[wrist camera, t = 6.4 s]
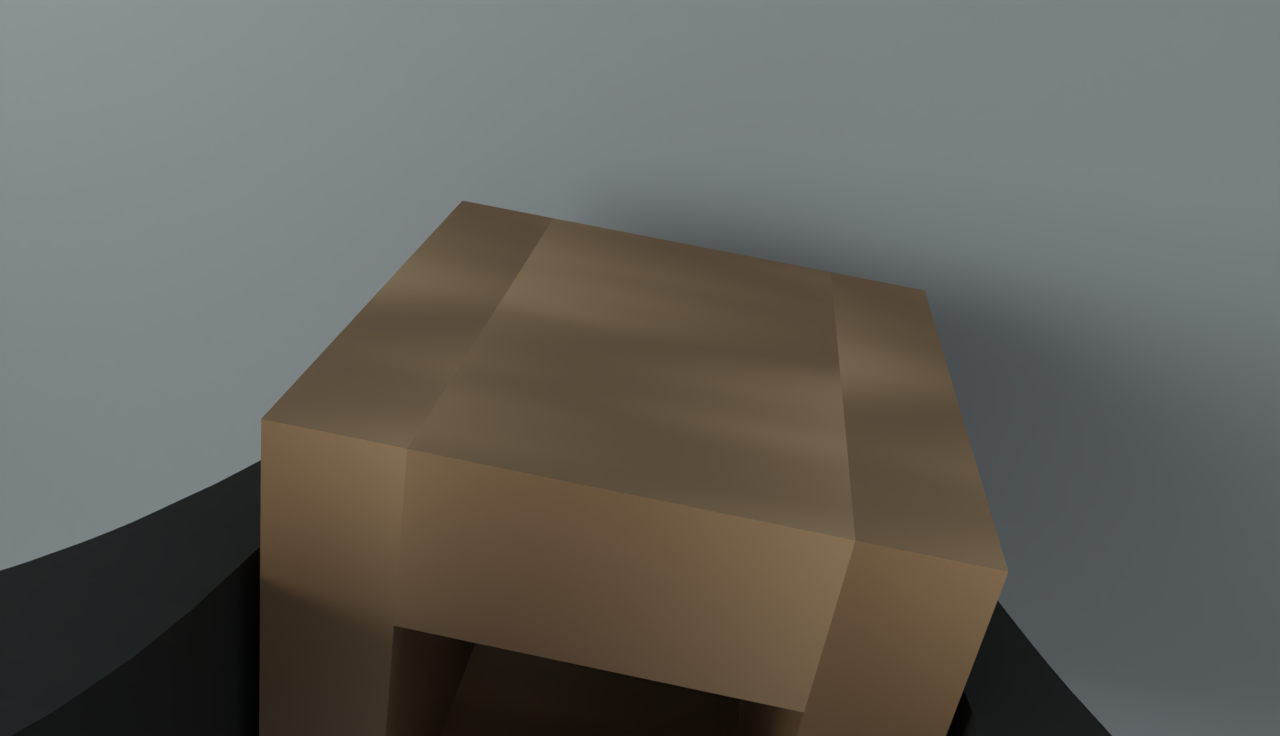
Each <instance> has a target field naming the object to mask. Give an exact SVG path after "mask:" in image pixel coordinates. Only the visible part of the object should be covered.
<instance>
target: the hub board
mask: <svg viewBox="0 0 1280 736" xmlns="http://www.w3.org/2000/svg"><path fill="white" fill-rule="evenodd" d="M462 200H463V201H468V202H473V203H478V204H483V205H488V206H493V207H499V208H504V209H509V210H514V211H519V212H524V213H529V214H534V215H540V216H545V217H550V218H555V219H560V220H565V221H570V222H576V223H581V224H586V225H591V226H596V227H601V228H606V229H612V230H617V231H622V232H627V233H632V234H637V235H642V236H648V237H653V238H658V239H663V240H668V241H673V242H678V243H684V244H689V245H694V246H699V247H704V248H709V249H714V250H720V251H725V252H730V253H735V254H740V255H745V256H750V257H756V258H761V259H766V260H771V261H776V262H781V263H786V264H792V265H797V266H802V267H807V268H812V269H817V270H822V271H828V272H833V273H838V274H843V275H848V276H853V277H858V278H864V279H869V280H874V281H879V282H884V283H889V284H894V285H900V286H905V287H910V288H915V289H920V290H925V293H926V297H927V300H928V303H929V307H930V310H931V313H932V317H933V320H934V323H935V327H936V330H937V334H938V337H939V340H940V344H941V347H942V350H943V354H944V357H945V360H946V364H947V367H948V370H949V374H950V377H951V381H952V384H953V387H954V391H955V394H956V397H957V401H958V404H959V407H960V411H961V414H962V417H963V421H964V424H965V427H966V431H967V434H968V438H969V441H970V444H971V448H972V451H973V454H974V458H975V461H976V464H977V468H978V471H979V474H980V478H981V481H982V484H983V488H984V491H985V495H986V498H987V501H988V505H989V508H990V511H991V515H992V518H993V521H994V525H995V528H996V531H997V535H998V538H999V542H1000V545H1001V548H1002V552H1003V555H1004V558H1005V562H1006V565H1007V568H1008V575H1007V577H1006V580H1005V582H1004V585H1003V588H1002V590H1001V593H1000V595H999V598H998V601H999V603H1000V604H1001V605H1002V606H1003V608H1004V609H1005V610H1006V612H1007V613H1008V614H1009V616H1010V617H1011V618H1012V619H1013V621H1014V622H1015V623H1016V625H1017V626H1018V627H1019V628H1020V630H1021V631H1022V632H1023V633H1024V635H1025V636H1026V637H1027V638H1028V640H1029V641H1030V642H1031V643H1032V645H1033V646H1034V647H1035V648H1036V650H1037V651H1038V652H1039V653H1040V654H1041V656H1042V657H1043V658H1044V659H1045V660H1046V662H1047V663H1048V664H1049V665H1050V666H1051V668H1052V669H1053V670H1054V671H1055V672H1056V674H1057V675H1058V676H1059V677H1060V678H1061V679H1062V681H1063V682H1064V683H1065V684H1066V685H1067V686H1068V688H1069V689H1070V690H1071V691H1072V692H1073V693H1074V694H1075V695H1076V697H1077V698H1078V699H1079V700H1080V701H1081V702H1082V703H1083V704H1084V705H1085V706H1086V708H1087V709H1088V710H1089V711H1090V712H1091V713H1092V714H1093V715H1094V716H1095V717H1096V719H1097V720H1098V721H1099V722H1100V723H1101V724H1102V725H1103V726H1104V727H1105V729H1106V730H1107V731H1108V732H1109V733H1110V734H1111V735H1112V736H1280V0H0V570H3V569H7V568H10V567H13V566H16V565H19V564H22V563H25V562H28V561H31V560H34V559H37V558H40V557H43V556H45V555H48V554H51V553H54V552H57V551H59V550H62V549H65V548H68V547H70V546H73V545H76V544H79V543H82V542H84V541H87V540H89V539H92V538H94V537H97V536H100V535H102V534H105V533H107V532H110V531H112V530H115V529H117V528H119V527H122V526H124V525H127V524H129V523H131V522H134V521H136V520H138V519H140V518H142V517H145V516H147V515H149V514H151V513H153V512H155V511H158V510H160V509H162V508H164V507H166V506H168V505H171V504H173V503H175V502H177V501H179V500H181V499H184V498H186V497H188V496H190V495H192V494H194V493H196V492H199V491H201V490H203V489H205V488H207V487H209V486H212V485H214V484H216V483H218V482H220V481H222V480H224V479H226V478H228V477H229V476H231V475H233V474H235V473H237V472H239V471H241V470H243V469H245V468H247V467H249V466H251V465H252V464H254V463H256V462H258V461H260V460H261V418H262V417H263V416H264V415H265V414H266V413H267V412H268V411H269V410H270V409H271V408H272V407H273V405H274V404H275V403H276V402H277V401H278V400H279V399H280V398H281V397H282V396H283V395H284V394H285V392H286V391H287V390H288V389H289V388H290V387H291V386H292V385H293V384H294V383H295V382H296V381H297V379H298V378H299V377H300V376H301V375H302V374H303V373H304V372H305V371H306V370H307V369H308V367H309V366H310V365H311V364H312V363H313V362H314V361H315V360H316V359H317V358H318V357H319V356H320V354H321V353H322V352H323V351H324V350H325V349H326V348H327V347H328V346H329V345H330V344H331V343H332V341H333V340H334V339H335V338H336V337H337V336H338V335H339V334H340V333H341V332H342V331H343V330H344V328H345V327H346V326H347V325H348V324H349V323H350V322H351V321H352V320H353V319H354V318H355V316H356V315H357V314H358V313H359V312H360V311H361V310H362V309H363V308H364V307H365V306H366V305H367V303H368V302H369V301H370V300H371V299H372V298H373V297H374V296H375V295H376V294H377V293H378V292H379V290H380V289H381V288H382V287H383V286H384V285H385V284H386V283H387V282H388V281H389V280H390V279H391V277H392V276H393V275H394V274H395V273H396V272H397V271H398V270H399V269H400V268H401V267H402V265H403V264H404V263H405V262H406V261H407V260H408V259H409V258H410V257H411V256H412V255H413V254H414V252H415V251H416V250H417V249H418V248H419V247H420V246H421V245H422V244H423V243H424V242H425V241H426V239H427V238H428V237H429V236H430V235H431V234H432V233H433V232H434V231H435V230H436V229H437V228H438V226H439V225H440V224H441V223H442V222H443V221H444V220H445V219H446V218H447V217H448V216H449V214H450V213H451V212H452V211H453V210H454V209H455V208H456V207H457V206H458V205H459V204H460V203H461V201H462Z"/></svg>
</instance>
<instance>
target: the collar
mask: <svg viewBox="0 0 1280 736" xmlns="http://www.w3.org/2000/svg"><path fill="white" fill-rule="evenodd" d="M1007 575H1008V568H1007V565H1006V562H1005V558H1004V555H1003V552H1002V548H1001V545H1000V542H999V538H998V535H997V531H996V528H995V525H994V521H993V518H992V515H991V511H990V508H989V505H988V501H987V498H986V495H985V491H984V488H983V484H982V481H981V478H980V474H979V471H978V468H977V464H976V461H975V458H974V454H973V451H972V448H971V444H970V441H969V438H968V434H967V431H966V427H965V424H964V421H963V417H962V414H961V411H960V407H959V404H958V401H957V397H956V394H955V391H954V387H953V384H952V381H951V377H950V374H949V370H948V367H947V364H946V360H945V357H944V354H943V350H942V347H941V344H940V340H939V337H938V334H937V330H936V327H935V323H934V320H933V317H932V313H931V310H930V307H929V303H928V300H927V297H926V293H925V290H920V289H915V288H910V287H905V286H900V285H894V284H889V283H884V282H879V281H874V280H869V279H864V278H858V277H853V276H848V275H843V274H838V273H833V272H828V271H822V270H817V269H812V268H807V267H802V266H797V265H792V264H786V263H781V262H776V261H771V260H766V259H761V258H756V257H750V256H745V255H740V254H735V253H730V252H725V251H720V250H714V249H709V248H704V247H699V246H694V245H689V244H684V243H678V242H673V241H668V240H663V239H658V238H653V237H648V236H642V235H637V234H632V233H627V232H622V231H617V230H612V229H606V228H601V227H596V226H591V225H586V224H581V223H576V222H570V221H565V220H560V219H555V218H550V217H545V216H540V215H534V214H529V213H524V212H519V211H514V210H509V209H504V208H499V207H493V206H488V205H483V204H478V203H473V202H468V201H463V200H462V201H461V203H460V204H459V205H458V206H457V207H456V208H455V209H454V210H453V211H452V212H451V213H450V214H449V216H448V217H447V218H446V219H445V220H444V221H443V222H442V223H441V224H440V225H439V226H438V228H437V229H436V230H435V231H434V232H433V233H432V234H431V235H430V236H429V237H428V238H427V239H426V241H425V242H424V243H423V244H422V245H421V246H420V247H419V248H418V249H417V250H416V251H415V252H414V254H413V255H412V256H411V257H410V258H409V259H408V260H407V261H406V262H405V263H404V264H403V265H402V267H401V268H400V269H399V270H398V271H397V272H396V273H395V274H394V275H393V276H392V277H391V279H390V280H389V281H388V282H387V283H386V284H385V285H384V286H383V287H382V288H381V289H380V290H379V292H378V293H377V294H376V295H375V296H374V297H373V298H372V299H371V300H370V301H369V302H368V303H367V305H366V306H365V307H364V308H363V309H362V310H361V311H360V312H359V313H358V314H357V315H356V316H355V318H354V319H353V320H352V321H351V322H350V323H349V324H348V325H347V326H346V327H345V328H344V330H343V331H342V332H341V333H340V334H339V335H338V336H337V337H336V338H335V339H334V340H333V341H332V343H331V344H330V345H329V346H328V347H327V348H326V349H325V350H324V351H323V352H322V353H321V354H320V356H319V357H318V358H317V359H316V360H315V361H314V362H313V363H312V364H311V365H310V366H309V367H308V369H307V370H306V371H305V372H304V373H303V374H302V375H301V376H300V377H299V378H298V379H297V381H296V382H295V383H294V384H293V385H292V386H291V387H290V388H289V389H288V390H287V391H286V392H285V394H284V395H283V396H282V397H281V398H280V399H279V400H278V401H277V402H276V403H275V404H274V405H273V407H272V408H271V409H270V410H269V411H268V412H267V413H266V414H265V415H264V416H263V417H262V418H261V516H260V676H259V736H946V735H947V732H948V729H949V727H950V724H951V721H952V719H953V716H954V714H955V711H956V708H957V706H958V703H959V700H960V698H961V695H962V693H963V690H964V687H965V685H966V682H967V679H968V677H969V674H970V672H971V669H972V666H973V664H974V661H975V658H976V656H977V653H978V651H979V648H980V645H981V643H982V640H983V637H984V635H985V632H986V630H987V627H988V624H989V622H990V619H991V616H992V614H993V611H994V609H995V606H996V603H997V601H998V598H999V595H1000V593H1001V590H1002V588H1003V585H1004V582H1005V580H1006V577H1007Z"/></svg>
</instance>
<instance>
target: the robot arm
mask: <svg viewBox="0 0 1280 736" xmlns="http://www.w3.org/2000/svg"><path fill="white" fill-rule="evenodd" d="M260 516H261V460H260V461H258V462H256V463H254V464H252V465H251V466H249V467H247V468H245V469H243V470H241V471H239V472H237V473H235V474H233V475H231V476H229V477H228V478H226V479H224V480H222V481H220V482H218V483H216V484H214V485H212V486H209V487H207V488H205V489H203V490H201V491H199V492H196V493H194V494H192V495H190V496H188V497H186V498H184V499H181V500H179V501H177V502H175V503H173V504H171V505H168V506H166V507H164V508H162V509H160V510H158V511H155V512H153V513H151V514H149V515H147V516H145V517H142V518H140V519H138V520H136V521H134V522H131V523H129V524H127V525H124V526H122V527H119V528H117V529H115V530H112V531H110V532H107V533H105V534H102V535H100V536H97V537H94V538H92V539H89V540H87V541H84V542H82V543H79V544H76V545H73V546H70V547H68V548H65V549H62V550H59V551H57V552H54V553H51V554H48V555H45V556H43V557H40V558H37V559H34V560H31V561H28V562H25V563H22V564H19V565H16V566H13V567H10V568H7V569H3V570H0V736H259V676H260ZM946 736H1112V735H1111V734H1110V733H1109V732H1108V731H1107V730H1106V729H1105V727H1104V726H1103V725H1102V724H1101V723H1100V722H1099V721H1098V720H1097V719H1096V717H1095V716H1094V715H1093V714H1092V713H1091V712H1090V711H1089V710H1088V709H1087V708H1086V706H1085V705H1084V704H1083V703H1082V702H1081V701H1080V700H1079V699H1078V698H1077V697H1076V695H1075V694H1074V693H1073V692H1072V691H1071V690H1070V689H1069V688H1068V686H1067V685H1066V684H1065V683H1064V682H1063V681H1062V679H1061V678H1060V677H1059V676H1058V675H1057V674H1056V672H1055V671H1054V670H1053V669H1052V668H1051V666H1050V665H1049V664H1048V663H1047V662H1046V660H1045V659H1044V658H1043V657H1042V656H1041V654H1040V653H1039V652H1038V651H1037V650H1036V648H1035V647H1034V646H1033V645H1032V643H1031V642H1030V641H1029V640H1028V638H1027V637H1026V636H1025V635H1024V633H1023V632H1022V631H1021V630H1020V628H1019V627H1018V626H1017V625H1016V623H1015V622H1014V621H1013V619H1012V618H1011V617H1010V616H1009V614H1008V613H1007V612H1006V610H1005V609H1004V608H1003V606H1002V605H1001V604H1000V603H999V601H997V603H996V606H995V609H994V611H993V614H992V616H991V619H990V622H989V624H988V627H987V630H986V632H985V635H984V637H983V640H982V643H981V645H980V648H979V651H978V653H977V656H976V658H975V661H974V664H973V666H972V669H971V672H970V674H969V677H968V679H967V682H966V685H965V687H964V690H963V693H962V695H961V698H960V700H959V703H958V706H957V708H956V711H955V714H954V716H953V719H952V721H951V724H950V727H949V729H948V732H947V735H946Z"/></svg>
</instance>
